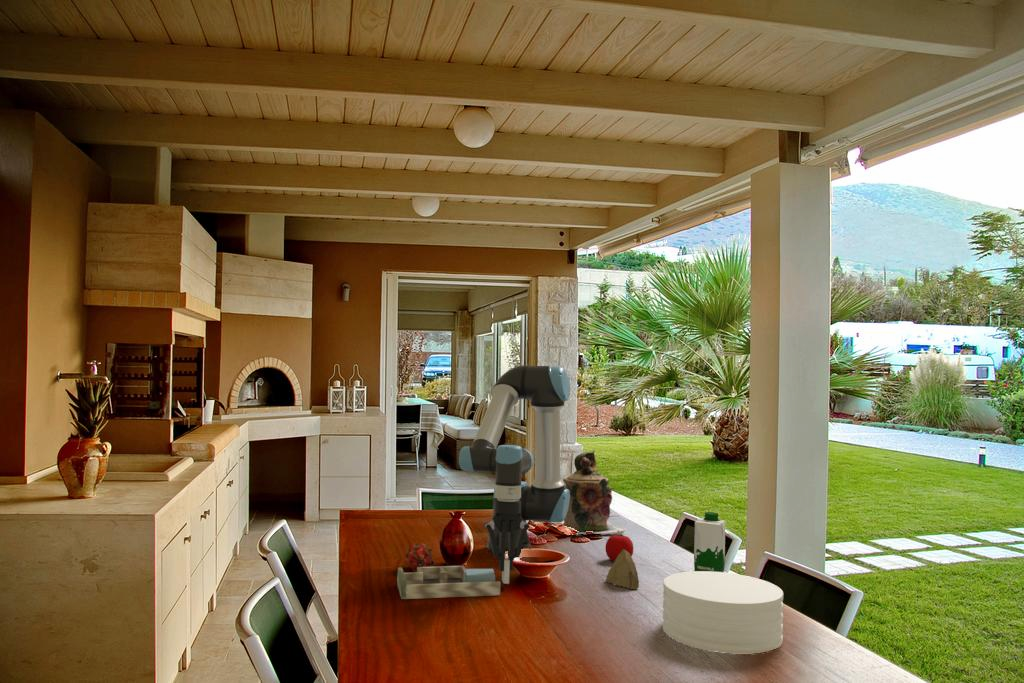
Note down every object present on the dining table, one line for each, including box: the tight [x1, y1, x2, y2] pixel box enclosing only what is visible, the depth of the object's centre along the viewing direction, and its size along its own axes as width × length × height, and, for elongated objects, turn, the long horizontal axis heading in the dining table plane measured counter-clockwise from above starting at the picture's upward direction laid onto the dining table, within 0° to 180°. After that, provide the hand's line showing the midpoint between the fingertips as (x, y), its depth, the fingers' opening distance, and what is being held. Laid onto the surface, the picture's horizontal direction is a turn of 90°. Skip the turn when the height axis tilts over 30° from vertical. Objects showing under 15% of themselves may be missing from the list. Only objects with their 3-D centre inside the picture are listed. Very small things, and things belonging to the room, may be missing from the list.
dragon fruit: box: [405, 542, 435, 572], centre depth 235 cm, size 8×8×12 cm
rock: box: [604, 549, 640, 590], centre depth 223 cm, size 11×9×10 cm
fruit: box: [605, 531, 634, 562], centre depth 253 cm, size 9×9×10 cm
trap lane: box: [396, 565, 501, 600], centre depth 216 cm, size 27×19×5 cm
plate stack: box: [662, 570, 784, 653], centre depth 184 cm, size 28×28×12 cm
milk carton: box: [693, 511, 726, 572], centre depth 232 cm, size 9×9×20 cm
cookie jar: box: [560, 449, 627, 536], centre depth 303 cm, size 25×25×32 cm
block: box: [465, 568, 496, 582], centre depth 215 cm, size 8×7×5 cm
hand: (505, 582), depth 217 cm, fingers closed
